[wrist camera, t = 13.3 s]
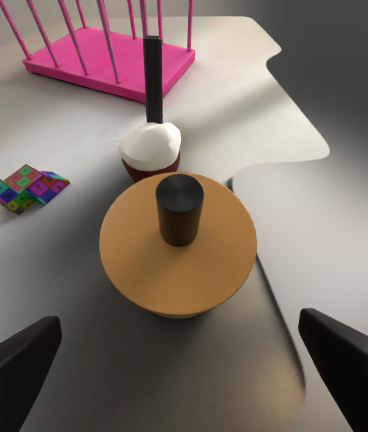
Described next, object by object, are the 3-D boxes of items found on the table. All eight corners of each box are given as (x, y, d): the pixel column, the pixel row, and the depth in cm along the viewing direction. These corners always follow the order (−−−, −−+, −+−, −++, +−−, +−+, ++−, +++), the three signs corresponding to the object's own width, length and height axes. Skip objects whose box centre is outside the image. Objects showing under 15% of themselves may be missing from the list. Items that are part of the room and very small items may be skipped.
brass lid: (281, 289, 13) (330, 264, 9) (108, 340, 11) (70, 336, 7) (223, 167, 18) (236, 116, 14) (97, 190, 16) (71, 139, 12)
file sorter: (156, 108, 33) (142, -53, 20) (26, 72, 37) (-56, -81, 24) (195, 60, 42) (204, -75, 28) (86, 35, 46) (49, -93, 33)
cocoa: (156, 211, 23) (141, 106, 13) (110, 188, 25) (64, 77, 15) (196, 158, 28) (208, 49, 18) (155, 141, 29) (144, 31, 19)
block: (27, 220, 22) (4, 202, 19) (1, 204, 23) (-24, 183, 20) (70, 182, 25) (56, 161, 22) (45, 169, 26) (28, 147, 23)
